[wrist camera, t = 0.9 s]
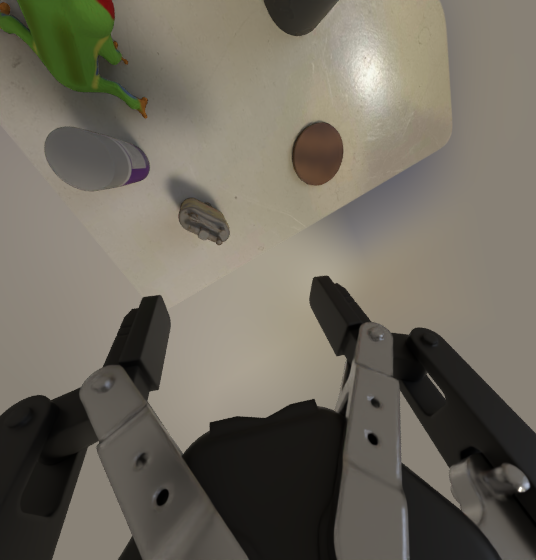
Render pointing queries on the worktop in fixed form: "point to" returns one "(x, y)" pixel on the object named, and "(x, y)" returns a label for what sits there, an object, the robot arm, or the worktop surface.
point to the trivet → (317, 154)
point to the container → (94, 159)
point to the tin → (298, 14)
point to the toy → (72, 42)
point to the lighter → (203, 221)
